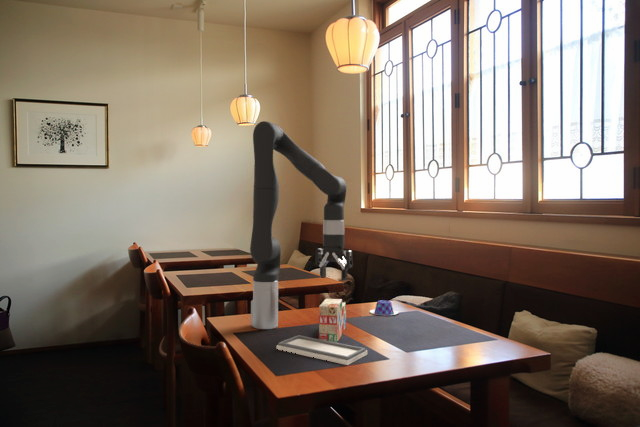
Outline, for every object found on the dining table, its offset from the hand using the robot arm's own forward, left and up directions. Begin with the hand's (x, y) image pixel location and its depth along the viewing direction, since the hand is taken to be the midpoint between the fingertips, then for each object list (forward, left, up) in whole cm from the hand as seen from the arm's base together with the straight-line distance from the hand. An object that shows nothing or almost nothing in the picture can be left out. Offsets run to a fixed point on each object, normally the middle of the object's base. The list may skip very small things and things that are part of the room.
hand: (333, 278), depth 173 cm
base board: (+8, -20, -20) cm, 29 cm away
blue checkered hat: (0, +40, -20) cm, 45 cm away
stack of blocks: (0, 0, -20) cm, 20 cm away
